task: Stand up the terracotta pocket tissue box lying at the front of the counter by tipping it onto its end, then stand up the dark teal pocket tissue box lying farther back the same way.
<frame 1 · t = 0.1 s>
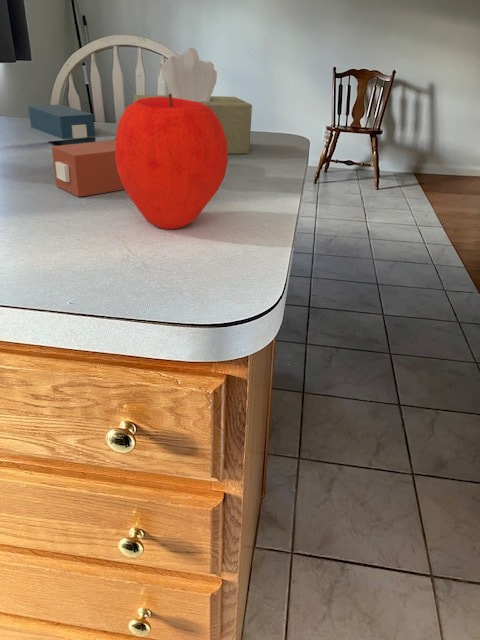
tissue pack front: (105, 165, 71), point 3 cm above the table, hinge at 0.0°
tissue box: (191, 149, 95), on the table
apple: (172, 225, 60), on the table
tissue pack back: (62, 125, 94), point 3 cm above the table, hinge at 0.0°
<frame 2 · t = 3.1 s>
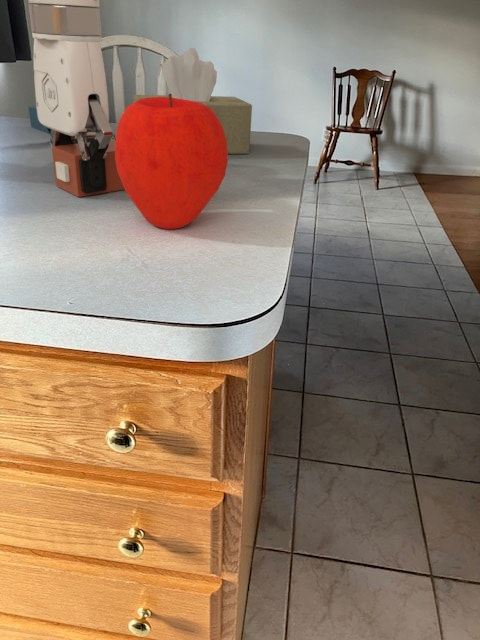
hand: (80, 183, 69), 1 cm above the table, tool pointing down, fingers closed on tissue pack front, 6 cm apart
tissue pack front: (105, 165, 71), point 3 cm above the table, hinge at 0.0°, touching gripper
everything else where it was.
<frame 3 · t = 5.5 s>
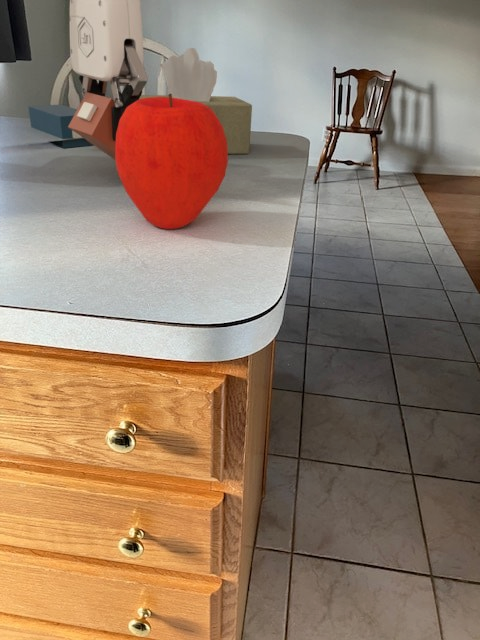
hand: (111, 134, 69), 7 cm above the table, tool pointing down, fingers closed on tissue pack front, 6 cm apart
tissue pack front: (122, 138, 71), point 6 cm above the table, hinge at 36.6°, touching gripper
everything else where it was.
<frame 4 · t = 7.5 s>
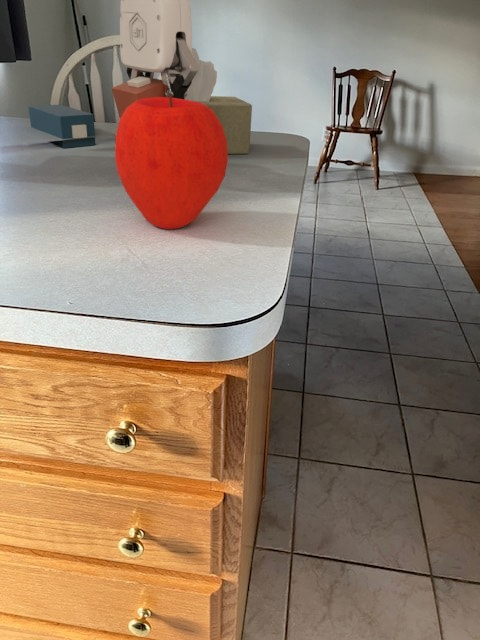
hand: (158, 123, 73), 7 cm above the table, tool pointing down, fingers closed on tissue pack front, 6 cm apart
tissue pack front: (150, 128, 73), point 7 cm above the table, hinge at 74.7°, touching gripper
everything else where it was.
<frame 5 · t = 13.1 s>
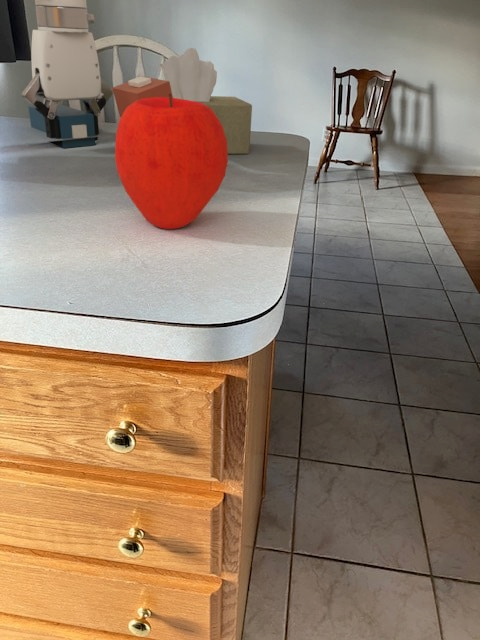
hand: (73, 140, 92), 1 cm above the table, tool pointing down, fingers closed on tissue pack back, 6 cm apart
tissue pack front: (151, 128, 73), point 7 cm above the table, hinge at 75.3°
tissue pack back: (62, 125, 94), point 3 cm above the table, hinge at 0.0°, touching gripper
everything else where it was.
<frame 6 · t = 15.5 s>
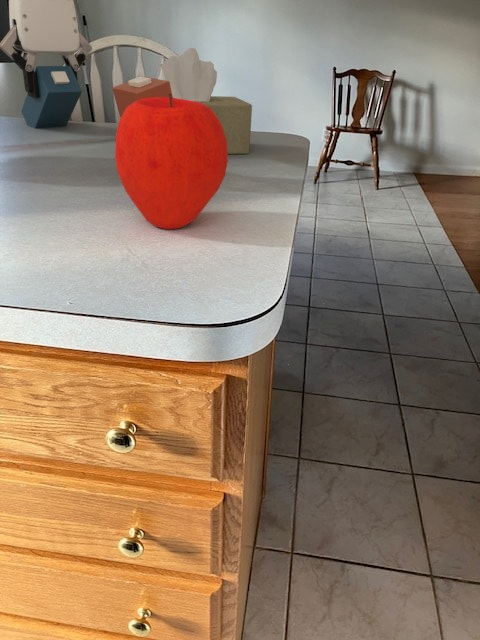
hand: (52, 95, 93), 7 cm above the table, tool pointing down, fingers closed on tissue pack back, 6 cm apart
tissue pack back: (51, 100, 94), point 6 cm above the table, hinge at 43.1°, touching gripper
everything else where it was.
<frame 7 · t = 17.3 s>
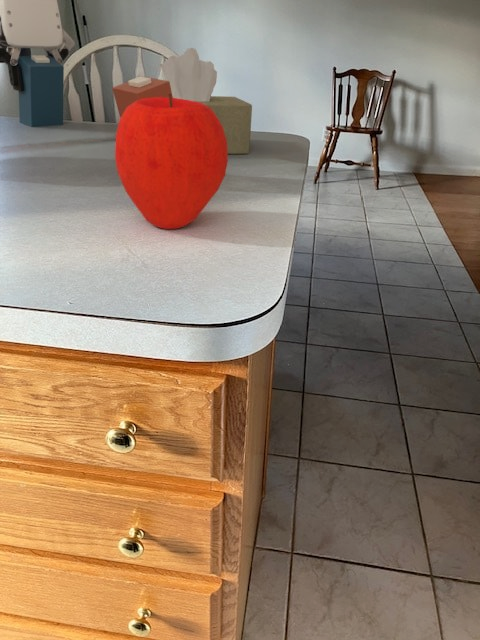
hand: (37, 88, 97), 8 cm above the table, tool pointing down, fingers closed on tissue pack back, 6 cm apart
tissue pack back: (41, 94, 96), point 7 cm above the table, hinge at 75.9°, touching gripper
everything else where it was.
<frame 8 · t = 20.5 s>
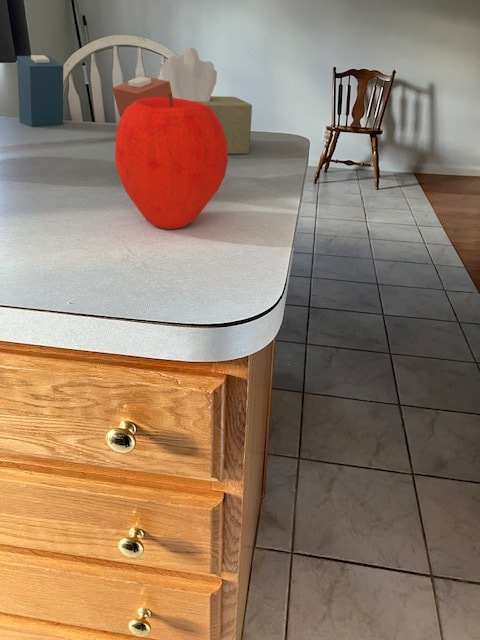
tissue pack back: (40, 94, 96), point 7 cm above the table, hinge at 76.4°
everything else where it was.
at the end: tissue pack front at +75° (first picture: +0°); tissue pack back at +76° (first picture: +0°) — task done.
